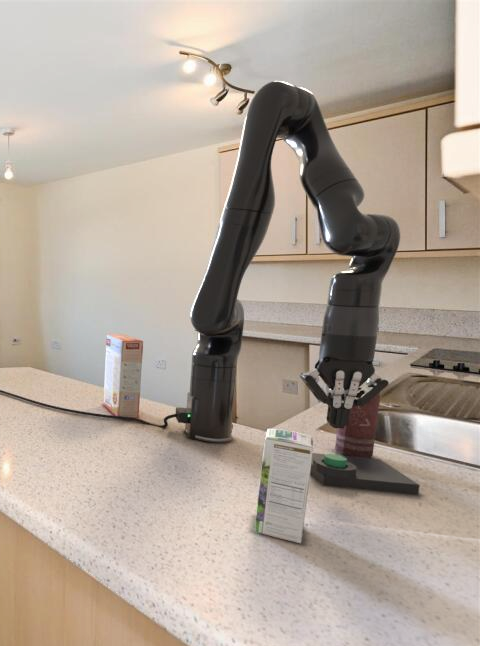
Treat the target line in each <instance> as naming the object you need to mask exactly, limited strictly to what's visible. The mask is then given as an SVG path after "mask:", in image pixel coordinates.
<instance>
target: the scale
mask: <svg viewBox="0 0 480 646" xmlns="http://www.w3.org/2000/svg"><path fill="white" fill-rule="evenodd" d="M325 454H326V453H317V452H312V461H311V470H310V475H311V476H312V477H313V478H314V479H316V481H318V482H319V483H320V485H322V486H324V487H325V486H327V487H334V488H335V487H336V488H345V489H356V490H365V491H374V492H384V493H393V494H405V495H415V496H419V492H420V484H419V483H417V482H416V481H415V480H413V479H411V478H410V477H409V476H407V475H405V474H404V473H402V472H400V471H399V470H397V469H395V468H394V467H393V466H391V465H389V464H388V463H387V462H385V461H383V460H382V459H380V458H374V457H373V458H372V457H371V458H363V457H352V456H343V455H342V456H343V457H345V458H346V459H347V461H346V467H344V468H342V467H334V466H330V465H327V464H324V455H325Z"/></svg>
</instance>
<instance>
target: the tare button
mask: <svg viewBox="0 0 480 646" xmlns="http://www.w3.org/2000/svg"><path fill="white" fill-rule="evenodd" d="M324 454H325V455H324V464H327V465H330V466H334V467H342V468H344V467H346V461H347V459H346V458H345V457H343V455H341V454H336V453H335V454H334V453H324Z"/></svg>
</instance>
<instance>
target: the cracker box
mask: <svg viewBox="0 0 480 646" xmlns="http://www.w3.org/2000/svg"><path fill="white" fill-rule="evenodd" d="M105 344H106V345H105V365H104V383H103V385H104V387H103V402H102V403H103V405H104V406H105V407H106V408H107V410H109V412H111V413H112V414H113V416H122V417H130V418H136V419H140V418H139V417H140V403H141V402H140V400H141V385H142V367H143V354H144V340H141V339H138V338H136V337H133V336H130V335H126V334H121V333H120V334H119V333H117V334H114V333H113V334H106V343H105Z"/></svg>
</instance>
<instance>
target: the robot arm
mask: <svg viewBox="0 0 480 646" xmlns="http://www.w3.org/2000/svg"><path fill="white" fill-rule="evenodd" d="M277 139H281V140H283V142H284V143H286V144H287V145H288V146H289V147H290V148H291V150H292V151H293V153H294V154H295V156H296V158H297V161H298V176H299V181H300V184H301V187H302V189H303V191H304V193H305V195H306V196H307V198H308V199H309V202H310V203H311V205H312V206H313V208H314V209H315V211H316V215H317V216H316V217H317V222H318V223H317V224H318V226H319V232H320V237H321V239H322V242H323V244H324V245H325V247H326V248H327V249H328V250H329V251H330V252H332V253H334V254H335V255H337V256H341V257H351V258H350V262H349V263H348V265H347V267H346V269H345V270H341V271H338V272H335V273H334V274H333V275H332V276H331V277H330V281H329V287H328V294H327V302H326V303H327V304H326V308H325V312H324V315H323V319H322V328H321V336H320V345H319V353H318V360H317V362H316V363H315V364H314V368H313V369H310V370H309V371H307V372H301V373H300V374H299V377H300V379H301V380H302V381H303V383H304V384H305V385H306V387H307V388H308V390H309V391H310V392H311V393H312V394H313V396H314V397H315V399H316V400H317V401H319V402H321V403H322V404H324V405H327V411H326V422H327V423H328V424H329V426H330V427H331V428H334V429H337V428H341V429H344V427H345V426H347V425H348V423H349V417H350V410H351V408H352V407H355V406H364V405H365V404H366V403H367V402H368V401H370V400H371V399H372V398H373V397H374V396H376V395H377V394H378V393H379V392H380V393H381V392H382V391H383V390H384V389H385V388H387V387H388V386H389V383H390V382H389V381H388V380H387V379H384V378H382V377H380V376H379V375H378V374H376V373H375V372H376V369H375V367H374V364H373V362H374V359H375V353H376V347H377V340H378V333H379V330H380V327H379V325H380V303H381V296H382V288H383V282H384V280H385V278H386V276H387V274H388V272H389V271H390V267H391V266H392V264H393V261H394V259H395V256H396V254H397V252H398V249H399V246H400V242H401V229H400V226H399V224H398V222H397V220H395V219H394V218H393V217H391V216H389V215H385V214H376V213H375V214H373V213H372V214H371V213H362V212H361V210H359V209H358V207H359V206H361V204H362V203H363V201H364V199H365V191H364V188H363V187H362V185H361V183H360V182H359V180H358V178H357V177H356V176H355V173H354V172H352V169H351V168H350V167H349V166H348V164H347V162H346V161H345V159H344V158H343V157H342V155H341V154H340V152H339V150H338V148H337V146H336V144H335V143H334V141H333V139H332V136H331V134H330V131H329V129H328V127H327V125H326V122H325V119H324V117H323V113H322V110H321V108H320V104H319V103H318V100H317V97H315V95H314V93H312V92H311V91H309V90H308V89H306V88H303V87H300V86H297V85H294V84H290V83H288V82H285V81H279V80H274V81H269V82H267V83H266V84H264V85H262V86H261V88H260V89H258V90H257V92H256V93H255V94H254V96H253V97H252V99H251V100H250V103H249V105H248V108H247V111H246V113H245V117H244V122H243V128H242V132H241V139H240V144H239V149H238V154H237V159H236V163H235V168H234V171H233V174H232V179H231V182H230V186H229V190H228V193H227V195H226V200H225V202H224V205H223V209H222V211H221V215H220V219H219V222H218V226H217V230H216V235H215V238H214V241H213V245H212V249H211V252H210V257H209V260H208V265H207V268H206V271H205V274H204V277H203V279H202V282H201V284H200V285H199V289H198V292H197V293H196V295H195V299H194V300H193V304H192V305H191V308H190V315H189V318H190V323H191V324H192V327H193V328H194V330H195V331H196V332H197V333H198V339H197V343H196V345H195V347H194V348H193V351H192V352H191V364H190V365H191V368H190V381H189V391H188V392H187V396H186V407H180V406H179V407H176V406H175V413H172V414H170V415H166V416H165V417H164V418H163V424H162V425H161V424H160V425H159V424H153V423H151V422H149V421H146V420H143V419H141V418H130V417H122V416H116V415H111V414H104V413H103V414H102V413H95V412H88V411H81V410H75V409H71V408H70V409H69V408H66V407H60V406H56V405H52V404H47V403H44V402H40V401H36V400H34V399H30V398H26V397H24V396H21V395H18V394H14V393H11V392H8V391H5V390H2V389H0V393H2V394H5V395H7V396H10V397H14V398H16V399H20V400H23V401H25V402H28V403H32V404H35V405H39V406H43V407H46V408H50V409H54V410H57V411H62V412H68V413H74V414H79V415H84V416H92V417H99V418H106V419H116V420H125V421H131V422H137V423H141V424H144V425H149V426H153V427H158V428H162V429H165V428H167V427H168V426H169V423H168V420H169V419H174V418H175V419H176V421H177V423H179V424H185V425H184V431H185V433H186V435H187V437H188V439H191V440H192V439H193V440H198V441H202V442H208V443H215V444H217V443H220V444H221V443H228V442H231V441H232V438H233V434H232V433H233V429H234V424H233V419H234V409H235V407H234V406H235V395H236V394H235V393H236V382H237V371H238V360H239V357H240V353H241V350H242V345H243V334H244V326H245V309H244V306H243V304H242V302H241V301H240V300H239V299H238V295H239V291H240V289H241V288H240V287H241V284H242V282H243V278H244V276H245V273H246V271H247V269H248V268H249V266H250V264H251V263H252V261H253V259H254V258H255V257H256V254H257V253H258V251H259V249H260V248H261V246H262V244H263V242H264V240H265V238H266V235H267V232H268V230H269V226H270V223H271V220H272V218H273V214H274V211H275V205H276V194H275V193H276V192H275V186H274V180H273V169H272V158H273V153H274V149H275V145H276V143H277V142H276V141H277ZM319 377H320V378H321V380H322V381H323V383H324V384H325V385H326V386H325V389H326V392H325V391H324V390H323V389H322V387H321V386H320V384H319V382H320V378H319ZM365 383H366V384H365ZM364 384H365V385H364ZM362 385H364V386H363V387H361V386H362ZM358 388H362V389H360V390H359V391H358ZM357 391H358V392H357Z"/></svg>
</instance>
